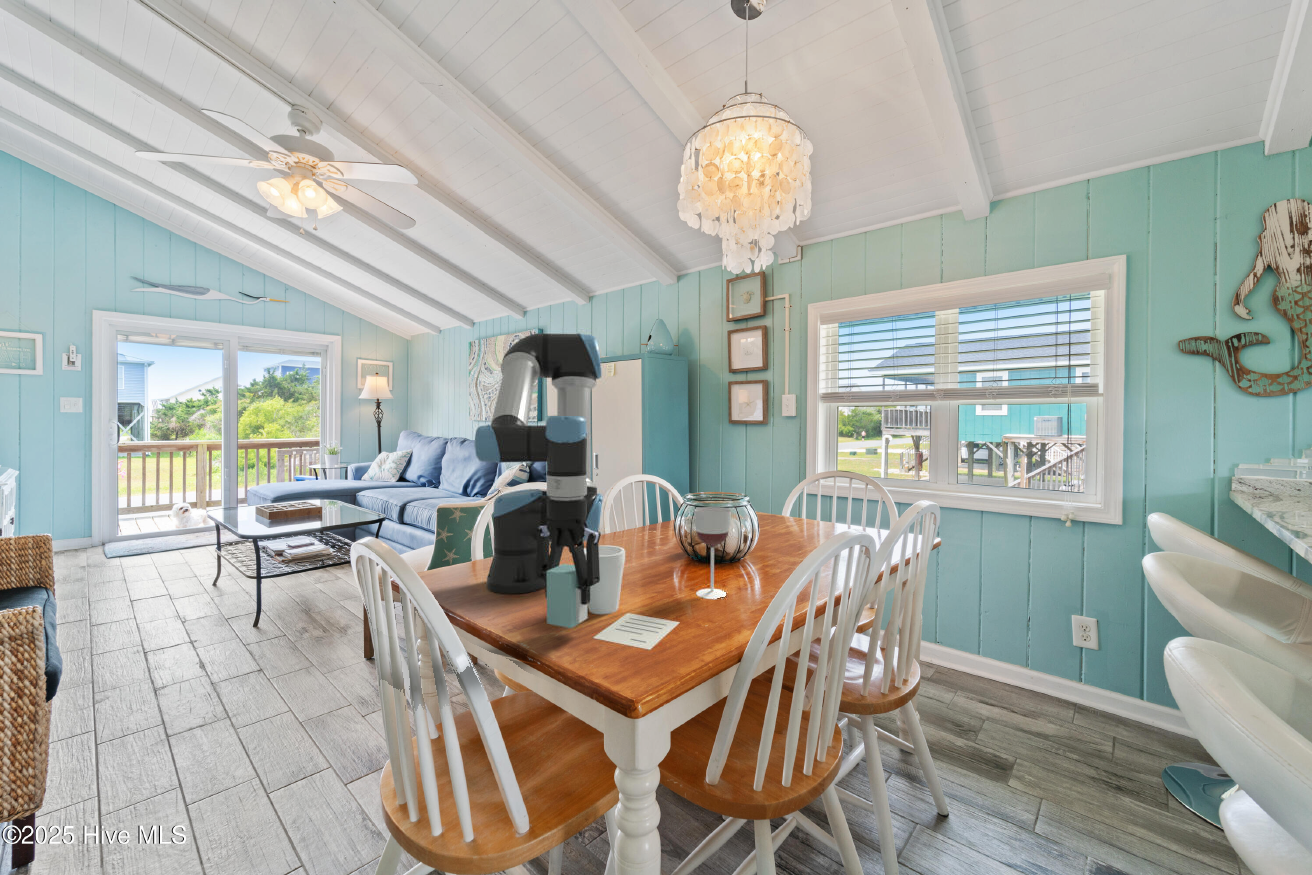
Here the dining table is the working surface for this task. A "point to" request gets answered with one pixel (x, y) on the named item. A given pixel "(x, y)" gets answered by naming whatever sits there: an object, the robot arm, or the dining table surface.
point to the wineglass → (712, 538)
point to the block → (562, 596)
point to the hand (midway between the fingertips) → (567, 617)
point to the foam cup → (607, 580)
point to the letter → (637, 631)
